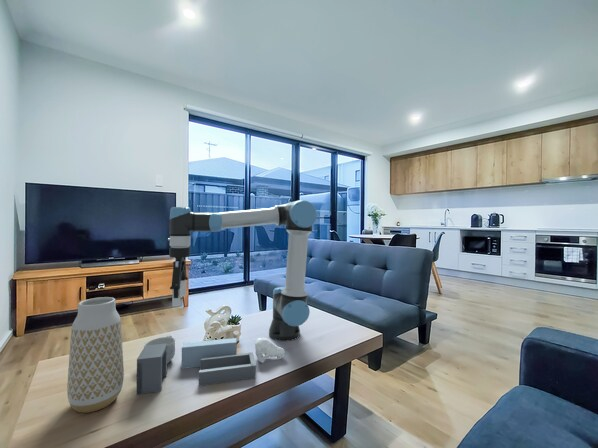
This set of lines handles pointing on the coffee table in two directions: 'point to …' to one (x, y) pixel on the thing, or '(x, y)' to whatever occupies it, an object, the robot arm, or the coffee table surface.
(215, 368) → the endcap
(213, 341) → the blue-grey rectangular block
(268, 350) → the white irregular piece
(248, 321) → the coffee table surface
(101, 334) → the vase
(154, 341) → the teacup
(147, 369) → the endcap
